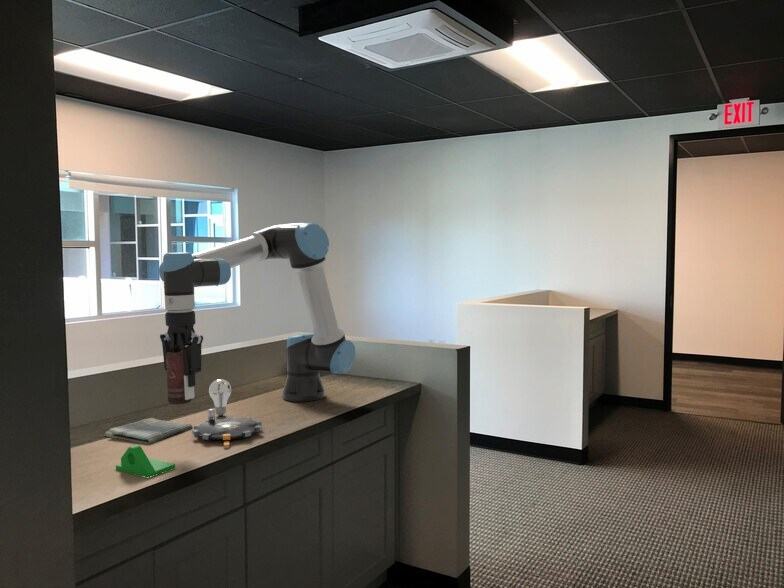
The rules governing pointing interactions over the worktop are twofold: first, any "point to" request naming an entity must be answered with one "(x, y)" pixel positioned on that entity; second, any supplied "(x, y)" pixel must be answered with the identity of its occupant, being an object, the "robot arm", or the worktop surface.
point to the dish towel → (147, 430)
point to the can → (176, 378)
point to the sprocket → (226, 427)
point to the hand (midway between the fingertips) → (184, 397)
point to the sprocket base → (230, 439)
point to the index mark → (226, 444)
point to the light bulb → (220, 395)
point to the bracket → (142, 463)
